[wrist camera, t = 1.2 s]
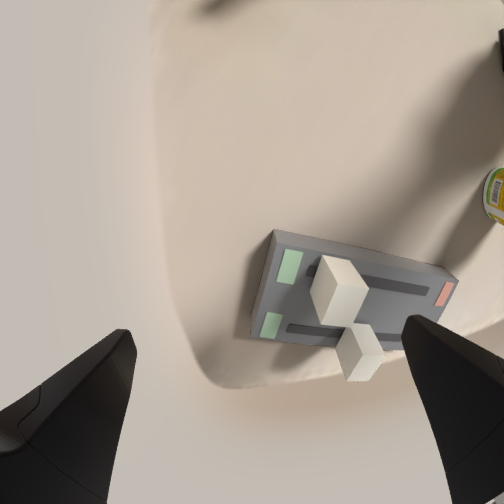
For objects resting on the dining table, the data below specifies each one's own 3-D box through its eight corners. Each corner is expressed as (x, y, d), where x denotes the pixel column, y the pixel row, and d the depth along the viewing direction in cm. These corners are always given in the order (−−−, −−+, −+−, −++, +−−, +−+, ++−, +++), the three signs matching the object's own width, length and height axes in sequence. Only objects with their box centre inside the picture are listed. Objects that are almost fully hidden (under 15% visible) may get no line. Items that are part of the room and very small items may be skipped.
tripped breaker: (369, 324, 20) (385, 355, 17) (355, 349, 21) (368, 380, 18) (348, 322, 20) (362, 354, 16) (335, 348, 21) (346, 381, 18)
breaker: (349, 260, 18) (369, 288, 14) (335, 295, 19) (350, 327, 15) (322, 254, 17) (337, 283, 14) (309, 291, 18) (320, 324, 15)
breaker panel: (444, 268, 21) (459, 281, 19) (409, 334, 24) (420, 350, 22) (273, 229, 20) (277, 243, 17) (250, 318, 23) (250, 338, 20)
